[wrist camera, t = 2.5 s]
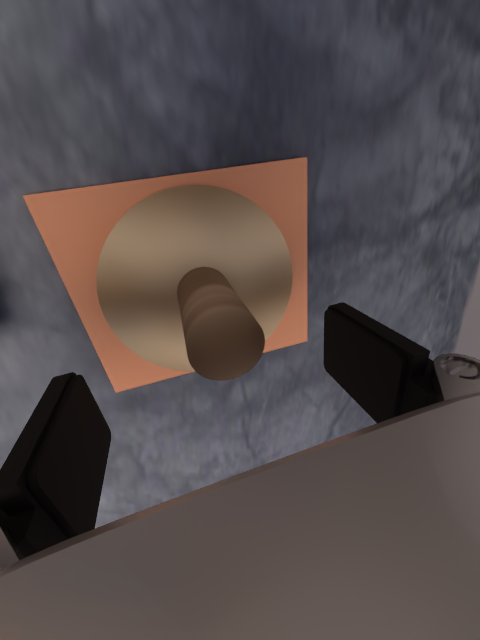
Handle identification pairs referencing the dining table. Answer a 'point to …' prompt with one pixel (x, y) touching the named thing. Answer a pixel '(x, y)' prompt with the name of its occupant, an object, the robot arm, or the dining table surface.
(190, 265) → the lid
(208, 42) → the dining table surface
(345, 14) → the dining table surface
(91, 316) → the mat
